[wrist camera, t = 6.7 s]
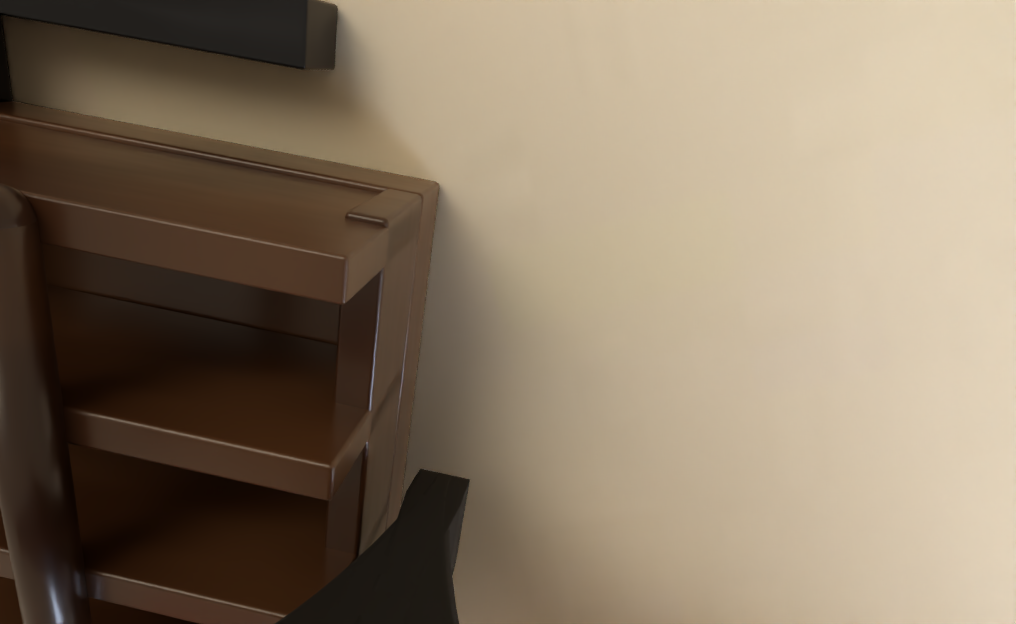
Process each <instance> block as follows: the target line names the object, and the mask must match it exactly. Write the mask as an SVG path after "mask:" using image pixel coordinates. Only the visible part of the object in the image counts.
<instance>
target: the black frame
mask: <svg viewBox="0 0 1016 624" xmlns="http://www.w3.org/2000/svg"><path fill="white" fill-rule="evenodd" d="M337 10H338V8H337V5H335V4H332V3H328V2H325V1H321V0H0V102H11V101H13V100H12V93H11V86H10V78H9V71H8V64H7V57H6V49H5V42H4V35H3V28H2V20H1V15H4V16H10V17H15V18H21V19H26V20H32V21H37V22H43V23H48V24H54V25H59V26H65V27H70V28H76V29H81V30H87V31H92V32H98V33H103V34H109V35H114V36H120V37H125V38H131V39H136V40H142V41H147V42H153V43H158V44H164V45H169V46H175V47H180V48H186V49H191V50H197V51H202V52H208V53H213V54H219V55H224V56H230V57H235V58H241V59H246V60H252V61H257V62H263V63H268V64H274V65H279V66H285V67H290V68H296V69H301V70H334V68H335V49H336V30H337Z"/></svg>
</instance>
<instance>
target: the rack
mask: <svg viewBox="0 0 1016 624" xmlns="http://www.w3.org/2000/svg"><path fill="white" fill-rule="evenodd" d="M438 194H439V183H437V182H435V181H429V180H424V179H419V178H414V177H408V176H403V175H398V174H393V173H387V172H382V171H377V170H372V169H366V168H361V167H356V166H351V165H345V164H340V163H335V162H330V161H324V160H319V159H314V158H309V157H303V156H298V155H293V154H288V153H282V152H277V151H272V150H267V149H261V148H256V147H251V146H246V145H240V144H235V143H230V142H225V141H219V140H214V139H209V138H204V137H198V136H193V135H188V134H183V133H177V132H172V131H167V130H162V129H156V128H151V127H146V126H141V125H135V124H130V123H125V122H120V121H114V120H109V119H104V118H99V117H93V116H88V115H83V114H78V113H72V112H67V111H62V110H57V109H51V108H46V107H41V106H36V105H30V104H25V103H20V102H15V101H11V102H0V624H275V623H276V622H278V621H279V620H281V619H282V618H284V617H285V616H286V615H288V614H289V613H291V612H292V611H293V610H295V609H296V608H298V607H299V606H300V605H301V604H303V603H304V602H305V601H307V600H308V599H309V598H311V597H312V596H313V595H314V594H316V593H317V592H318V591H319V590H321V589H322V588H323V587H324V586H326V585H327V584H328V583H329V582H330V581H332V580H333V579H334V578H335V577H336V576H338V575H339V574H340V573H341V572H342V571H343V570H344V569H346V568H347V567H348V566H349V565H350V564H351V563H352V562H353V561H354V560H355V559H357V558H358V557H359V556H360V555H361V554H362V553H363V552H364V551H365V550H366V549H368V548H369V547H370V546H371V545H372V544H373V543H374V542H375V541H376V540H377V539H378V538H379V537H380V536H381V535H382V534H383V533H384V532H385V531H386V530H387V529H388V528H389V527H390V525H391V524H392V523H393V522H394V521H395V520H396V519H397V518H398V515H399V512H400V508H401V500H402V492H403V483H404V475H405V467H406V458H407V450H408V442H409V434H410V425H411V417H412V409H413V401H414V392H415V384H416V376H417V367H418V359H419V351H420V343H421V334H422V326H423V318H424V310H425V301H426V293H427V285H428V276H429V268H430V260H431V252H432V243H433V235H434V227H435V219H436V210H437V202H438Z"/></svg>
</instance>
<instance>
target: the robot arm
mask: <svg viewBox="0 0 1016 624" xmlns="http://www.w3.org/2000/svg"><path fill="white" fill-rule="evenodd" d="M469 482H470V479H465V478H461V477H456V476H452V475H447V474H443V473H438V472H433V471H429V470H424V469H420V470H419V472H418V473H417V475H416V476H415V478H414V479H413V481H412V483H411V484H410V486H409V488H408V490H407V491H406V494H405V497H404V500H403V503H402V506H401V509H400V512H399V515H398V518H397V519H396V520H395V521H394V522H393V523H392V524H391V525H390V527H389V528H388V529H387V530H386V531H385V532H384V533H383V534H382V535H381V536H380V537H379V538H378V539H377V540H376V541H375V542H374V543H373V544H372V545H371V546H370V547H369V548H368V549H366V550H365V551H364V552H363V553H362V554H361V555H360V556H359V557H358V558H357V559H355V560H354V561H353V562H352V563H351V564H350V565H349V566H348V567H347V568H346V569H344V570H343V571H342V572H341V573H340V574H339V575H338V576H336V577H335V578H334V579H333V580H332V581H330V582H329V583H328V584H327V585H326V586H324V587H323V588H322V589H321V590H319V591H318V592H317V593H316V594H314V595H313V596H312V597H311V598H309V599H308V600H307V601H305V602H304V603H303V604H301V605H300V606H299V607H298V608H296V609H295V610H293V611H292V612H291V613H289V614H288V615H286V616H285V617H284V618H282V619H281V620H279V621H278V622H276V623H275V624H459V621H458V615H457V609H456V602H455V595H454V587H453V579H452V575H453V571H454V567H455V563H456V557H457V551H458V546H459V540H460V534H461V528H462V522H463V517H464V511H465V505H466V499H467V493H468V488H469Z"/></svg>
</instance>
